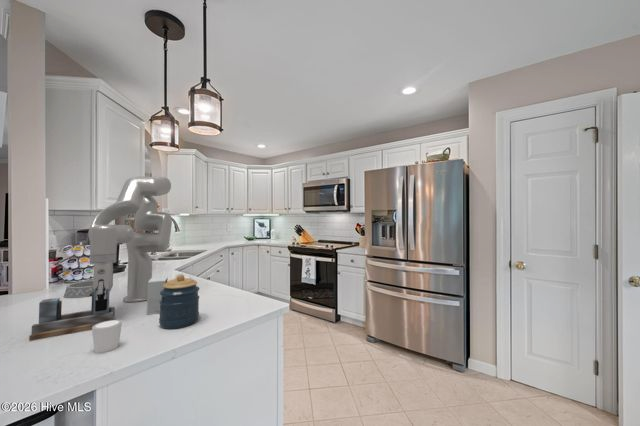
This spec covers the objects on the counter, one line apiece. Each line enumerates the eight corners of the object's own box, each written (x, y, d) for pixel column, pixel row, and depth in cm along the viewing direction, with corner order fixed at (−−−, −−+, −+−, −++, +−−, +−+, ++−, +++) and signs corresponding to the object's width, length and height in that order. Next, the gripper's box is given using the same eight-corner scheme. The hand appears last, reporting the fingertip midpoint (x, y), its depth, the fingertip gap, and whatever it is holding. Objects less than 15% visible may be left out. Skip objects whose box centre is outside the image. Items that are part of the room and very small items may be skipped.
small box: (164, 312, 104) (165, 280, 104) (146, 315, 101) (147, 282, 101) (167, 306, 111) (167, 276, 111) (149, 308, 108) (150, 277, 108)
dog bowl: (118, 291, 136) (118, 280, 136) (73, 300, 119) (74, 289, 119) (100, 287, 143) (101, 277, 143) (56, 296, 126) (56, 285, 126)
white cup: (103, 342, 78) (104, 319, 78) (126, 341, 79) (127, 319, 79) (84, 354, 71) (85, 329, 71) (110, 353, 72) (111, 328, 72)
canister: (156, 332, 85) (158, 279, 86) (160, 319, 97) (161, 272, 97) (199, 325, 91) (200, 276, 92) (198, 313, 103) (199, 269, 103)
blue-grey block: (108, 311, 96) (109, 287, 96) (107, 315, 93) (108, 290, 93) (92, 314, 93) (93, 289, 94) (91, 317, 90) (91, 292, 90)
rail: (114, 315, 100) (115, 288, 100) (112, 325, 90) (113, 296, 91) (41, 327, 88) (42, 297, 89) (29, 341, 79) (30, 306, 79)
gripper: (114, 260, 89) (112, 313, 89) (117, 255, 103) (116, 301, 102) (85, 262, 85) (83, 318, 84) (93, 257, 99) (91, 304, 98)
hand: (101, 308), depth 93 cm, fingers closed on blue-grey block, 3 cm apart
